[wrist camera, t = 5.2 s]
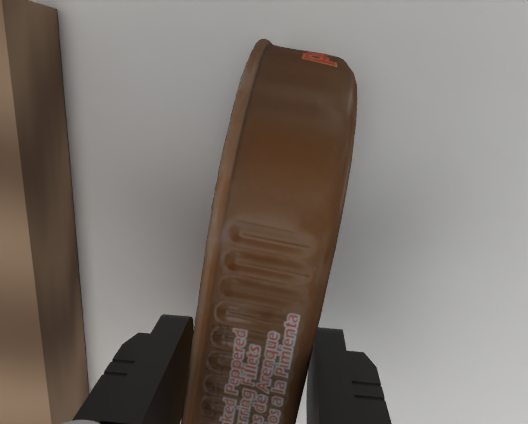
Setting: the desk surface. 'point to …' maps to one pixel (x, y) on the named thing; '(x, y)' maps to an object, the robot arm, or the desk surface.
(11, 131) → the walnut riser
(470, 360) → the desk surface
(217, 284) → the tin
